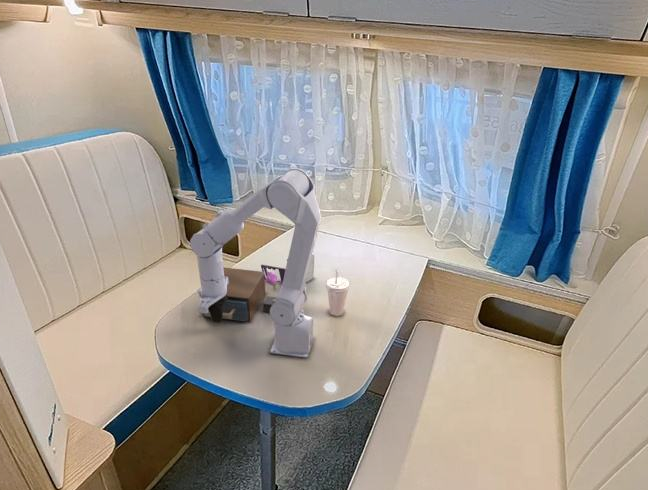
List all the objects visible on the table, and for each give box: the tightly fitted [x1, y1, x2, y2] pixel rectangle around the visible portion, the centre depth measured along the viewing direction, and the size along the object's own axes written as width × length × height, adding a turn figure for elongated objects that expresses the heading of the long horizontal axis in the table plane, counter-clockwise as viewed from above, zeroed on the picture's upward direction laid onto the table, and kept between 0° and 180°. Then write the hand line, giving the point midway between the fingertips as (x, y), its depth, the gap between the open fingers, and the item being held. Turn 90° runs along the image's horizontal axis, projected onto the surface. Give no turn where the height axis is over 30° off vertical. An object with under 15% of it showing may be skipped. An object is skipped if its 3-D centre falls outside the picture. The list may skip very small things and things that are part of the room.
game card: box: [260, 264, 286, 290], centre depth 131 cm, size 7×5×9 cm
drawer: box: [201, 298, 248, 322], centre depth 118 cm, size 18×12×6 cm
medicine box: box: [286, 254, 315, 284], centre depth 134 cm, size 8×4×9 cm, turn 141°
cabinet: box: [199, 266, 266, 323], centre depth 121 cm, size 15×14×8 cm
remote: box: [262, 295, 277, 314], centre depth 121 cm, size 4×8×3 cm, turn 82°
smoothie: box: [326, 268, 351, 317], centre depth 119 cm, size 6×6×14 cm
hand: (217, 320), depth 111 cm, fingers closed, pressing on drawer
